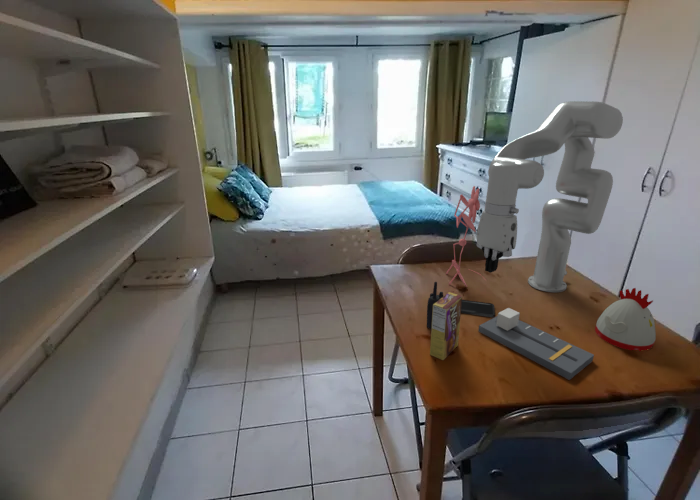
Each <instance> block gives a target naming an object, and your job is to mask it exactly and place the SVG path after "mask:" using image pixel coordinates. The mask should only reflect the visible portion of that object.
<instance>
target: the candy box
mask: <svg viewBox="0 0 700 500" xmlns="http://www.w3.org/2000/svg"><path fill="white" fill-rule="evenodd" d="M462 300H463V296H462V295H460V294H457V293H453V292H451V291H449V292H447V293H446V294H444V295H443V297H442V298H441V299H440V300H438V301H437V302H436V303H435V304H433V312H432V328H431V329H430V330H431V331H430V332H431V333H430V347H429V348H430V349H429V355H430V356H432V357H434V358H437V359H439V360H441V361H444V360H445V359H446V358H447V357H448V356H449V355H451V353H452V352H453V351H454V350H455V349H456V347H458V346H459V341H460V340H459V338H460V337H459V335H460V328H461V327H460V325H461V315H462V313H461V304H462Z"/></svg>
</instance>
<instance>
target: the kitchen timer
mask: <svg viewBox="0 0 700 500" xmlns="http://www.w3.org/2000/svg"><path fill="white" fill-rule="evenodd" d="M649 294H650V293H646V294H644V296H643V297H642V289H640V290H638V291H637V289H636V287H634V288H632V289H631V291H630V289H629V288H627V289H625V294H624V291H623V290H619V297H620V299H618V300H616V301H614V302H613V303H611V304H610V305H608V307H606V308H605V310H603V312H602V313H601V315H599V317H598V318H597V321H596V324H595V328H594V331H595V333H596V335H597V337H599V338H600V339H601V340H603V341H604V342H606V343H608V344H610V345H613V346H615V347H617V348H621V349H623V350H627V349H628V351H632V350H639V351H638V352H642V351H641V350H647V349H649V350H651V349H652V348H653V347H654V346H655V342H656V338H657V337H656V336H657V335H656V325H655V324H656V323H655V319H654V316H653V313H652V311H651V310H650V309H649V305H651V304H652V303H653V302H654V300H650V301H648V298H649ZM653 345H654V346H653ZM652 346H653V347H652ZM651 347H652V348H651ZM650 348H651V349H650ZM647 351H648V350H647Z"/></svg>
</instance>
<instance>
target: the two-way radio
mask: <svg viewBox="0 0 700 500" xmlns="http://www.w3.org/2000/svg"><path fill="white" fill-rule="evenodd" d="M443 296H444V292H443V291H439V294H438V281H434V283H433V291H432V293H430V294H429V297H428V300H427V305H426V306H427V307H426V328H427V329H430V330H431V328H432V312H433V304H435V303H436V302H437V301H438V300H440V299H441V298H442V297H443Z"/></svg>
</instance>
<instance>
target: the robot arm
mask: <svg viewBox="0 0 700 500" xmlns="http://www.w3.org/2000/svg"><path fill="white" fill-rule="evenodd" d="M623 120H624V117H623V114H622V112H621V110H620V109H618V108H616V107H614V106H612V105H609V104H607V103H605V102H601V101H588V100H587V101H581V100H580V101H579V100H577V101H575V100H574V101H564V102H561V103H559V104H558V105H557V106H555V108H554V109H552V111H551V112H550V113H549V114H548V116H547V117H546V118H545V119H544V120H543V121H542V123H540V125H539V126H538V127H537V128H536V130H533V131H532V132H529V133H527V134H525V135H522V136H520V137H518V138H516V139H514V140H512V141H510V142H508V143H506V145H504V146H503V147H502V148H501V149H500V150H499V151H498V153H497V154H496V155H495V156H494V158H493V159H492V160H491V162H490V164H489V167H488V180H487V181H488V182H487V183H488V184H487V191H486V198H485V205H484V210H483V211H482V213H481V215H480V218H479V222H478V225H477V226H478V227H477V230H476V238H475V241H476V247H477V248H479V249H480V250H482V252H483V254H484V257H485V264H484V267H485V268H484V271H485V272H488V273H490V274H491V273H493V272H496V271H497V269H498V265H499V260H500V259H502V257H504V258H509V257H513V250H514V249H516V245H517V238H518V219H517V214H518V213H519V211H520V210H519V209H520V208H517V205H516V204H517V198H518V197H517V195H518V191H519V190H520V189H527V190H528V189H532V188H535V187H537V186H538V185H539V184H540V183H541V182H542V181H543V179H544V176H545V169H544V166H543V165H542V164H541V163H540V162H538V161H535V160H531V159H532V158H540V157H544V156H548V155H552V154H555V153H557V152H558V151H559V150H560V149H561V148H562V147H563V146H564V154H563V157H562V160H561V165H560V167H559V172H558V175H557V179H556V182H555V189H556V191H557V192H558V193H560V194H561V195H564V196H570V197H576V198H580V199H581V198H582V199H586V200H587V202H582V201H578V200H573V199H567V198H561V197H560V198H557V197H556V198H550V199H548V200H547V201H546V202H545V203H544V204H543V207H542V210H541V221H542V222H541V226H542V227H541V233H540V240H539V244H538V250H537V255H536V260H535V265H534V270H533V275H530V276H529V277H528V279H527V283H528V285H530V286H531V287H532V288H533V289H536V290H539V291H543V292H545V293H546V292H547V293H562V292H564V291H566V289H567V287H568V285H567V283H566V281H564V277H565V276H567V274H568V272H567V270H566V268H567V263H568V258H569V255H570V251H571V245H572V238H571V235H570V231H573V232H576V233H581V234H585V235H586V234H587V235H591V234H594V233H595V232H596V231H597V230H598V229H599V228H600V225H601V223H602V220H603V217H604V214H605V212H606V209H607V206H608V205H607V204H608V203H609V200H610V199H609V198H610V196H611V193H612V188H613V184H614V179H613V175H612V174H611V172H610V171H607V170H604V169H599V168H592V164H593V160H594V159H595V158H594V157H595V154H596V153H595V148H594V146H593V144H592V142H591V140H590V138H591V139H592V138H593V139H603V140H606V139H607V140H610V139H612V138H614V137H615V136H617V135H618V134H619V132H620V131H621V130H622V129H621V128H622V126H623V123H624V122H623Z"/></svg>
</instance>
